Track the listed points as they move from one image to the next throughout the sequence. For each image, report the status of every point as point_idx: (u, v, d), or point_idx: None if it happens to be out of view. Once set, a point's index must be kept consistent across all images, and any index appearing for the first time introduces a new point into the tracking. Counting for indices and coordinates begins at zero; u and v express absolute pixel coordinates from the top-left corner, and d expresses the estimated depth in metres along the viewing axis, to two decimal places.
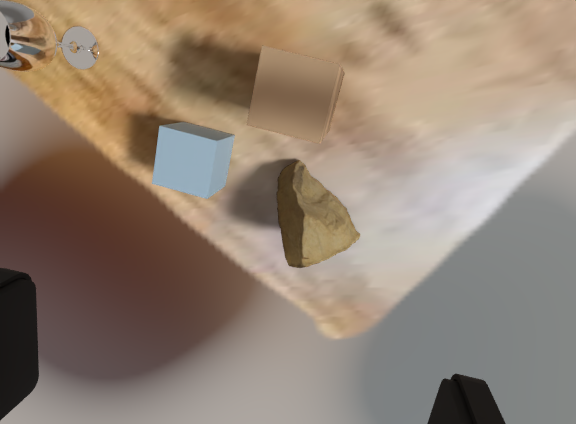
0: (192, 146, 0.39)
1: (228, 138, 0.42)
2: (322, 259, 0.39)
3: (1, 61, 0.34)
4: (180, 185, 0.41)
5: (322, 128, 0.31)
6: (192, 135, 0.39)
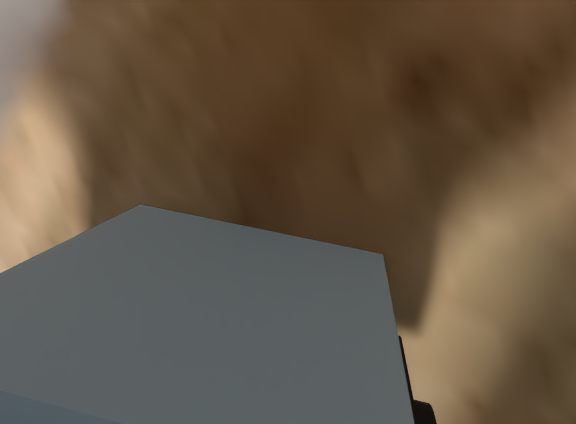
0: None
1: None
2: None
3: None
4: None
5: None
6: None
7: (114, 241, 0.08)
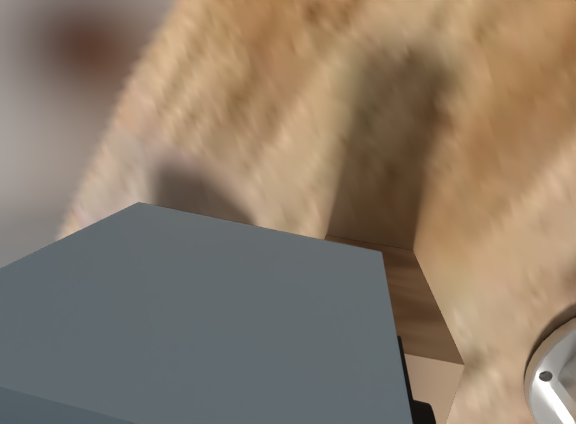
0: None
1: None
2: None
3: None
4: None
5: None
6: None
7: (112, 238, 0.08)
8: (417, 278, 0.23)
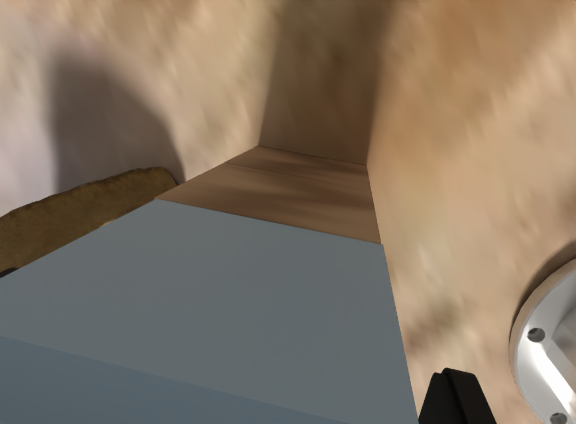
0: None
1: None
2: None
3: None
4: None
5: None
6: None
7: (137, 231, 0.08)
8: (357, 180, 0.17)
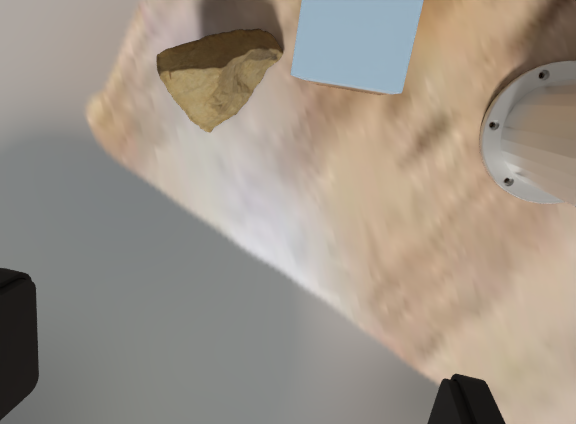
0: (389, 41, 0.20)
1: (392, 93, 0.24)
2: (173, 95, 0.34)
3: None
4: (311, 16, 0.21)
5: None
6: (411, 40, 0.20)
7: None
8: None
